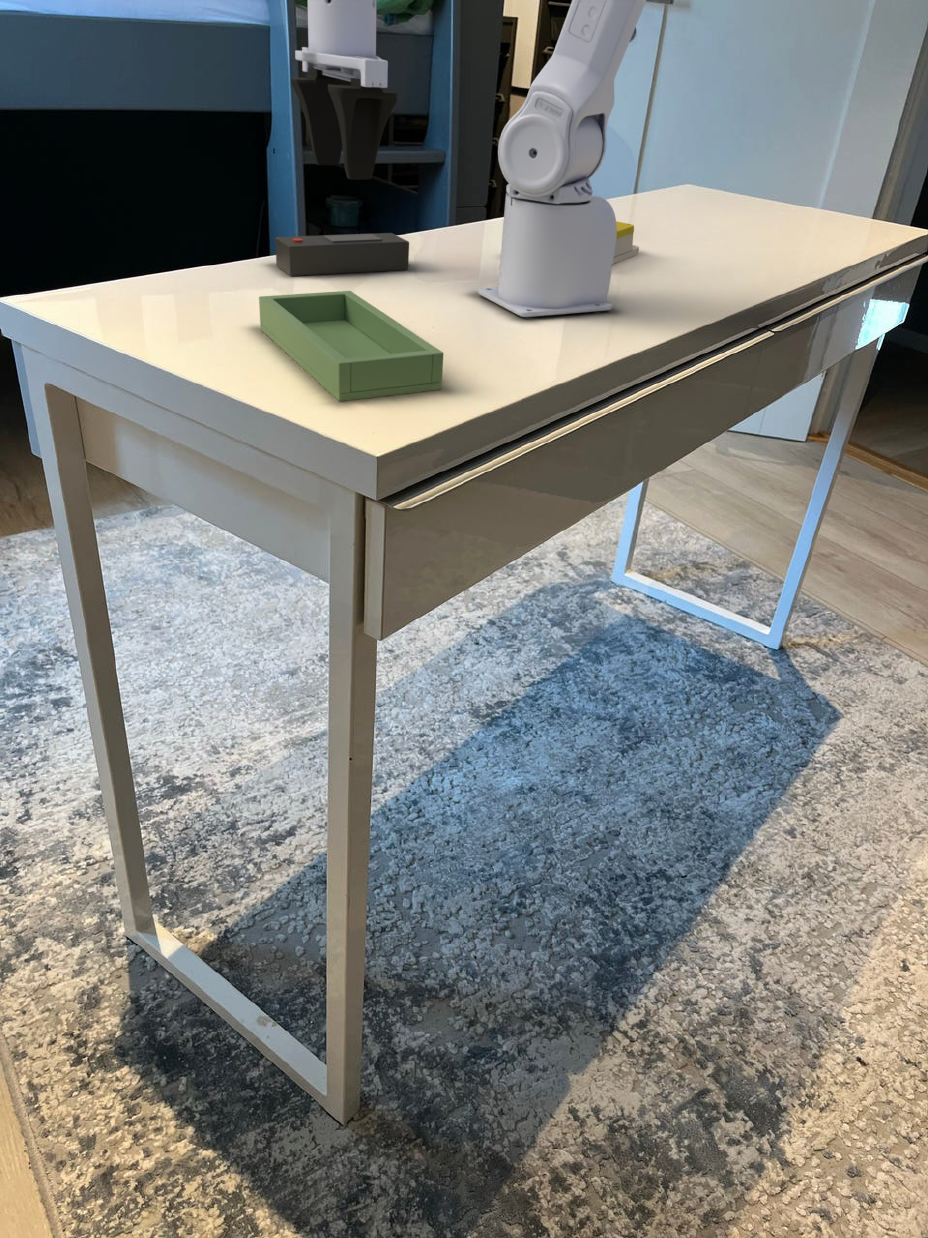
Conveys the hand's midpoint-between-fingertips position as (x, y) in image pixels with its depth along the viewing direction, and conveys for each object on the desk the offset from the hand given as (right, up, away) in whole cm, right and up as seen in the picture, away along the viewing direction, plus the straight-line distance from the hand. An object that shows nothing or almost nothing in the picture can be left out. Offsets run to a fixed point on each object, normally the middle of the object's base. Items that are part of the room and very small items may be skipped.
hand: (342, 171), depth 84 cm
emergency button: (+23, -1, +16) cm, 28 cm away
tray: (+3, -22, -18) cm, 28 cm away
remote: (-1, -7, +5) cm, 8 cm away
